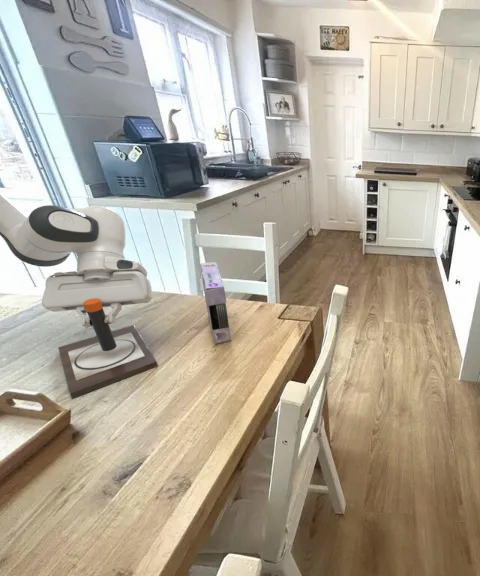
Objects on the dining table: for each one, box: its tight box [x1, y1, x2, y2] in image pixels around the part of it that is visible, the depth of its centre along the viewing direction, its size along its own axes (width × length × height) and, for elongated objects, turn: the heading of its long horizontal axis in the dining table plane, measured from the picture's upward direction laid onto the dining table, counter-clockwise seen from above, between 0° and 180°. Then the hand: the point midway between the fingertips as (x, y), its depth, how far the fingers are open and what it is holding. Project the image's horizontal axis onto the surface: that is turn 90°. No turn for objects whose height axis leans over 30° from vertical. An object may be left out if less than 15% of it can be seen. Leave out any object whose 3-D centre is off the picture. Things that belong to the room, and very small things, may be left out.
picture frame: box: [57, 324, 159, 399], centre depth 81 cm, size 22×16×2 cm
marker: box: [83, 298, 117, 351], centre depth 76 cm, size 3×3×13 cm
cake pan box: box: [199, 261, 232, 345], centre depth 93 cm, size 19×5×18 cm, turn 31°
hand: (99, 324), depth 75 cm, fingers closed on marker, 3 cm apart
